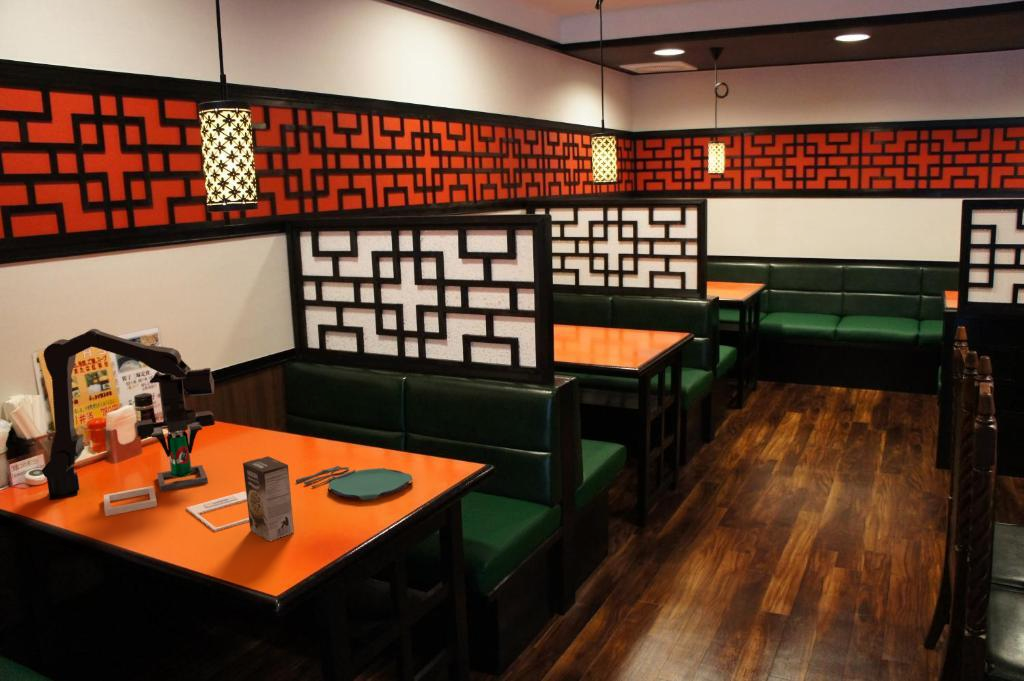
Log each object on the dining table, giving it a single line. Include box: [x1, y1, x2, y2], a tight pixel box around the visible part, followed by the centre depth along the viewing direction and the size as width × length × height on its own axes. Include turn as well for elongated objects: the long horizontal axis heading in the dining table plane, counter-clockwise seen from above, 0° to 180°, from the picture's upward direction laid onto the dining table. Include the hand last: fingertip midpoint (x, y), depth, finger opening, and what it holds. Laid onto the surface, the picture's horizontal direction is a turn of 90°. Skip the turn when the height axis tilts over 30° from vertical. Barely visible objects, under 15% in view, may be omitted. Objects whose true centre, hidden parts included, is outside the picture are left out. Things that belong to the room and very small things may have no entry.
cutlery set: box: [295, 465, 413, 501], centre depth 211 cm, size 20×30×2 cm, turn 53°
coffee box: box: [242, 456, 295, 542], centre depth 182 cm, size 9×6×16 cm
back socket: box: [156, 464, 209, 493], centre depth 218 cm, size 11×11×2 cm
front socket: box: [103, 485, 158, 517], centre depth 204 cm, size 11×11×2 cm
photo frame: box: [185, 490, 249, 532], centre depth 196 cm, size 15×1×18 cm
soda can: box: [166, 430, 192, 478], centre depth 217 cm, size 5×5×12 cm
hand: (179, 454), depth 217 cm, fingers closed on soda can, 5 cm apart
